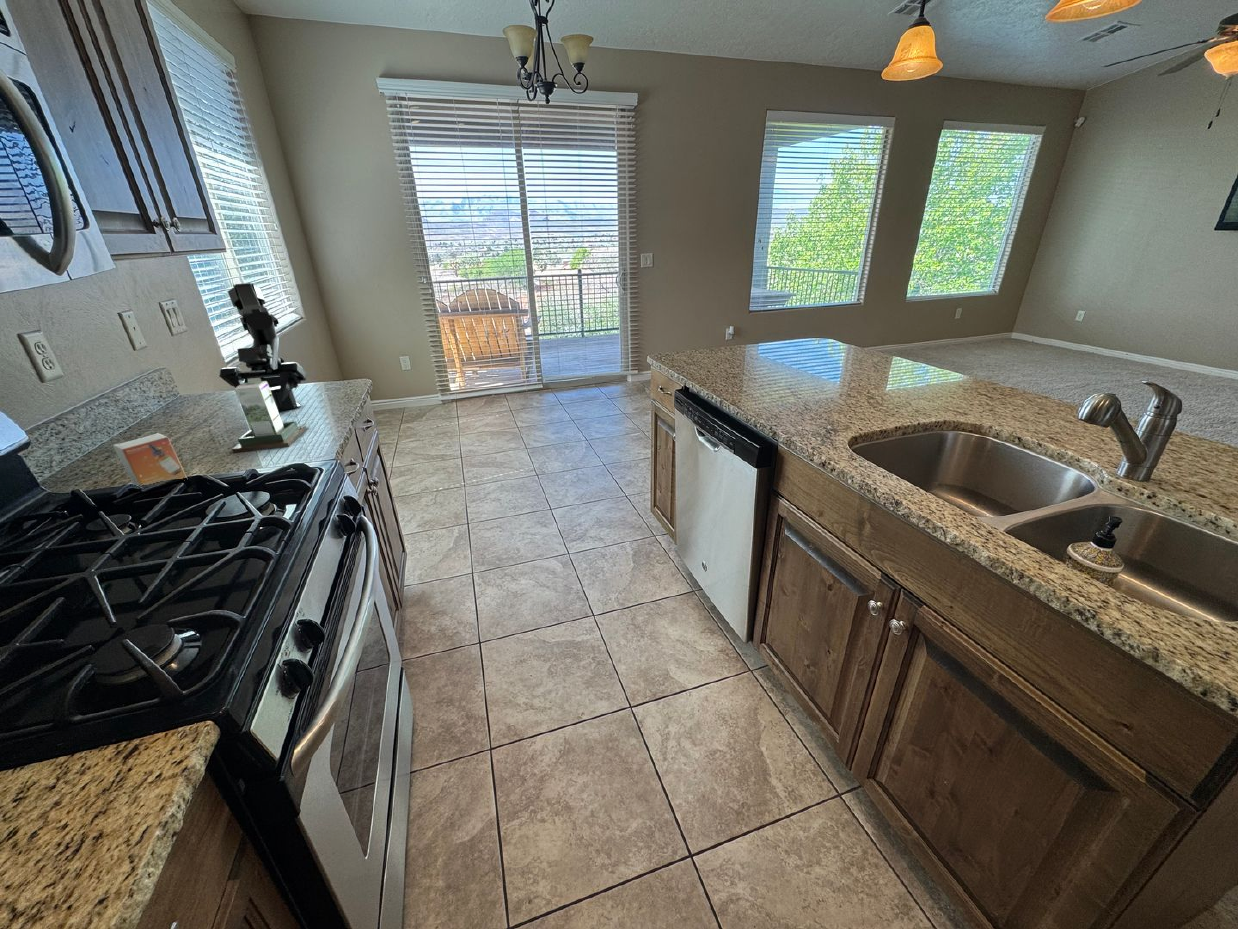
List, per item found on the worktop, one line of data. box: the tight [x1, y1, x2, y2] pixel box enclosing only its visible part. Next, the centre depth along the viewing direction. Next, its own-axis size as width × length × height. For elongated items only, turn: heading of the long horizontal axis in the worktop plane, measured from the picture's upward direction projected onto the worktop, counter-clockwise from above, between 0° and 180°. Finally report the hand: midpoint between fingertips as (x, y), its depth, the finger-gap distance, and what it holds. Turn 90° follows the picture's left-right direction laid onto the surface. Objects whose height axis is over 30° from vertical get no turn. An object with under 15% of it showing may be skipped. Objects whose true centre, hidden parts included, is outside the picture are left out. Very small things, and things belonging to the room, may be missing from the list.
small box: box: [112, 432, 188, 486], centre depth 106 cm, size 8×6×10 cm
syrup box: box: [234, 380, 285, 436], centre depth 127 cm, size 6×6×14 cm
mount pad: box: [231, 421, 308, 454], centre depth 129 cm, size 13×13×3 cm
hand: (262, 402), depth 128 cm, fingers open, 9 cm apart
